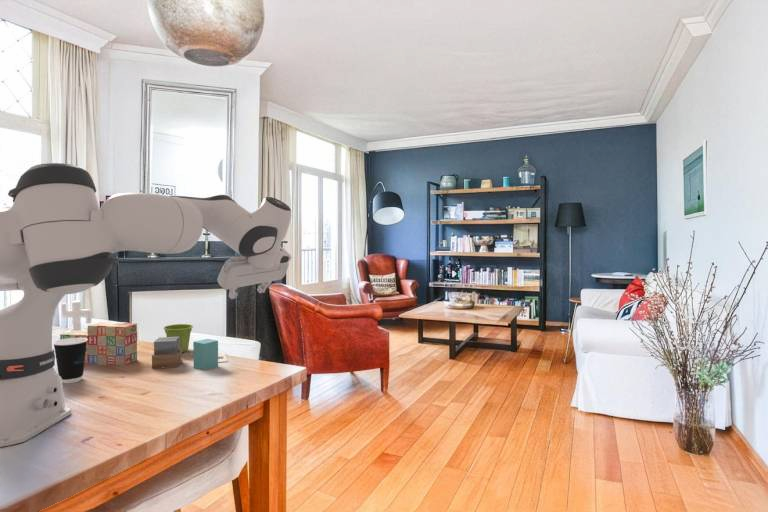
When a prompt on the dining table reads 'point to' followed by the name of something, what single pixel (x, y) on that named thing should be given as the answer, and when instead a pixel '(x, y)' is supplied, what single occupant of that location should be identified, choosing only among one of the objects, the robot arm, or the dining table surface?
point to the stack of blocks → (108, 342)
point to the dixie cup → (70, 358)
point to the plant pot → (180, 334)
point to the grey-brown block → (166, 352)
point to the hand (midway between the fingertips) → (246, 294)
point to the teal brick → (205, 354)
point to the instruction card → (222, 358)
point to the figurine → (76, 315)
